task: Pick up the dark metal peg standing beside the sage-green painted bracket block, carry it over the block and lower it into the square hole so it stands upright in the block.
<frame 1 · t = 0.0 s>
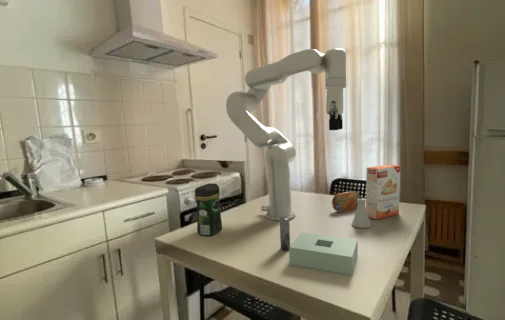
hand: (336, 129, 108), 37 cm above the table, tool pointing down, fingers open, 9 cm apart
bracket block: (324, 259, 83), on the table
coffee jar: (209, 232, 109), on the table
flask: (361, 226, 109), on the table
peg: (285, 248, 91), on the table
cracker box: (382, 216, 119), on the table
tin: (346, 210, 128), on the table
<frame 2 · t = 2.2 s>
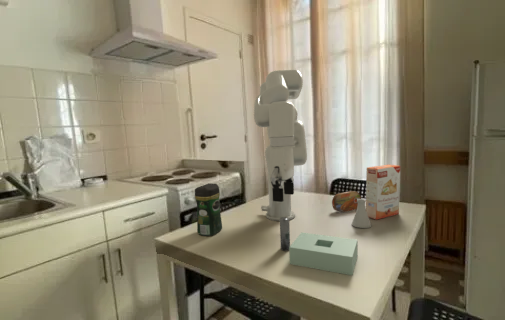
hand: (283, 197, 89), 17 cm above the table, tool pointing down, fingers open, 9 cm apart
nothing on the table moved.
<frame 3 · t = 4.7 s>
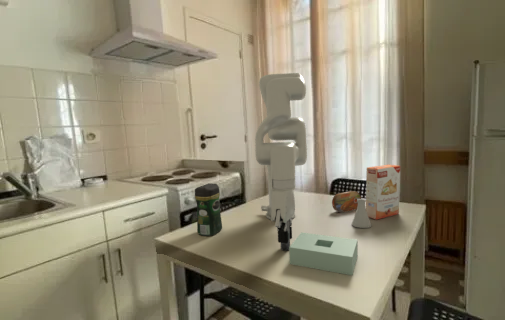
hand: (285, 239, 91), 3 cm above the table, tool pointing down, fingers closed on peg, 3 cm apart
peg: (285, 248, 91), on the table, touching gripper
everything else where it was.
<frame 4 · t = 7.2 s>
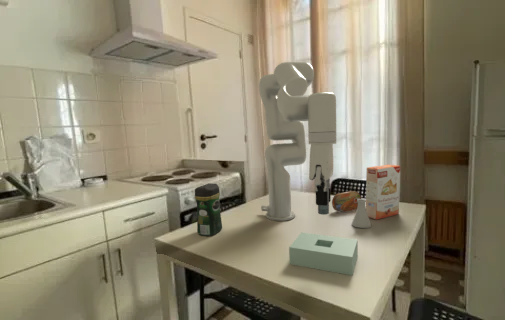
hand: (323, 202, 81), 17 cm above the table, tool pointing down, fingers closed on peg, 3 cm apart
peg: (323, 212, 81), point 14 cm above the table, touching gripper
everything else where it was.
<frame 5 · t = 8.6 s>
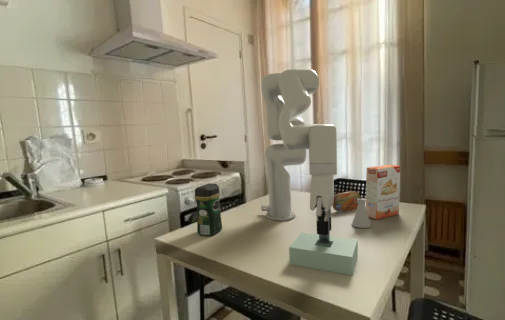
hand: (324, 231, 81), 9 cm above the table, tool pointing down, fingers closed on peg, 3 cm apart
peg: (324, 241, 82), point 6 cm above the table, touching gripper
everything else where it was.
when the fingers open (6 cm above the table, at t = 9.8 s): peg drops 3 cm, resting in bracket block.
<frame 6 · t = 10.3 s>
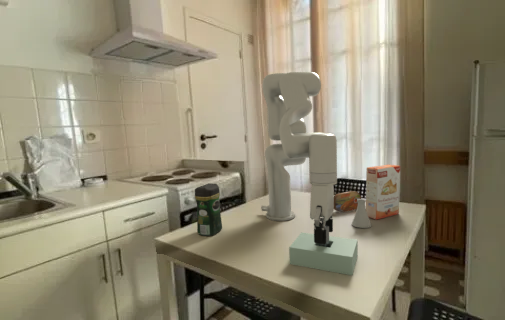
hand: (323, 236, 82), 7 cm above the table, tool pointing down, fingers open, 8 cm apart
peg: (324, 259, 83), resting in bracket block
everything else where it was.
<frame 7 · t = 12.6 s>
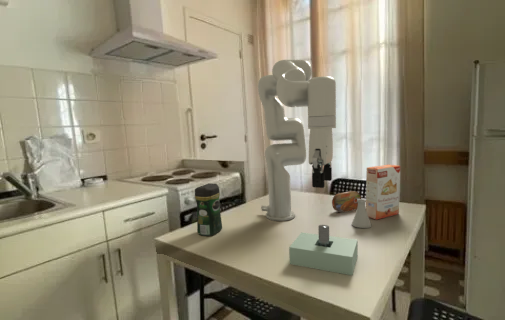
hand: (322, 183, 81), 22 cm above the table, tool pointing down, fingers open, 9 cm apart
nothing on the table moved.
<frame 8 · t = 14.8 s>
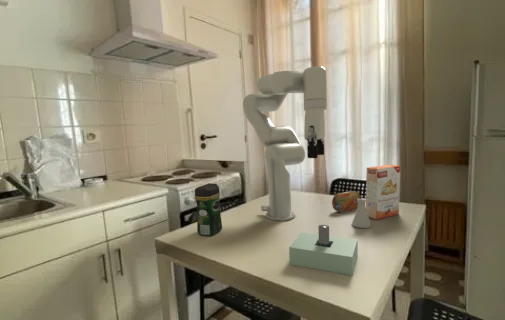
hand: (316, 156, 97), 28 cm above the table, tool pointing down, fingers open, 9 cm apart
nothing on the table moved.
at the end: peg 0.1 cm off-centre on the bracket block, point 0.0 cm above the bracket block's base; peg tilted 0°; the gripper is holding nothing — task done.
